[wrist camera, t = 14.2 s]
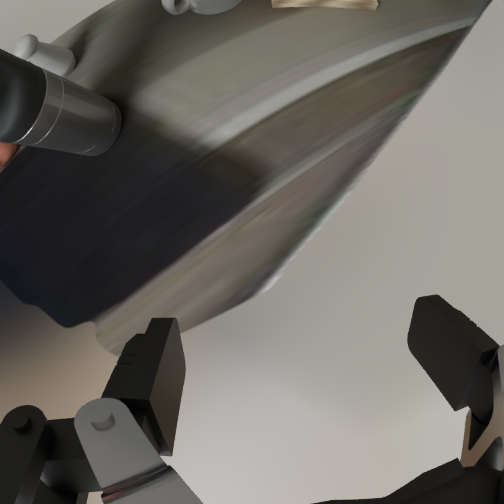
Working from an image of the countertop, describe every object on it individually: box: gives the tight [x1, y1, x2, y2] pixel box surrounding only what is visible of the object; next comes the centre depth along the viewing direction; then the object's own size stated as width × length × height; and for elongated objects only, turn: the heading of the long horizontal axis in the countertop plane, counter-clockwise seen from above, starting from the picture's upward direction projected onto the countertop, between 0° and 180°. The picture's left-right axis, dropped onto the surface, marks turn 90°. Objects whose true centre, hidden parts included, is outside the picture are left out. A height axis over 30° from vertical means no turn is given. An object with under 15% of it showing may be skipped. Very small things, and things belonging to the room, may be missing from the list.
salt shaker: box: [14, 34, 76, 77], centre depth 32 cm, size 6×6×13 cm
